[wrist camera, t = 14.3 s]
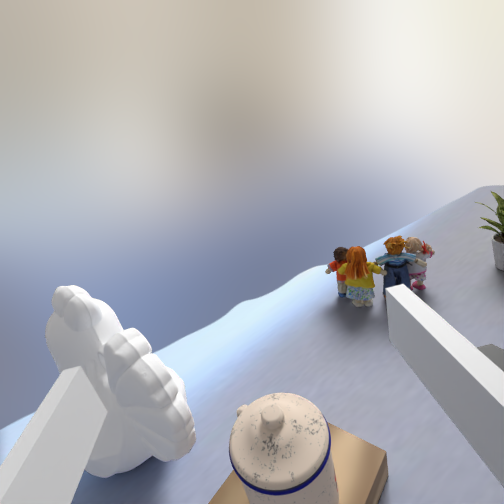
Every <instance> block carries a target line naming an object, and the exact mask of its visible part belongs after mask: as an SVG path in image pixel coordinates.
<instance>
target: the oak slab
mask: <svg viewBox="0 0 504 504" xmlns="http://www.w3.org/2000/svg"><path fill="white" fill-rule="evenodd" d="M327 423H328V422H327ZM328 426H329V430H330V435H331V454H332V459H333V464H334V469H335V474H336V479H337V484H338V490H339V504H378V501H379V499H380V496H381V493H382V491H383V488H384V485H385V483H386V480H387V477H388V466H387V455H386V451H384V450H382V449H380V448H378V447H376V446H374V445H372V444H370V443H368V442H366V441H364V440H362V439H360V438H358V437H356V436H354V435H352V434H350V433H348V432H346V431H344V430H342V429H340V428H338V427H336V426H334V425H332V424H330V423H328ZM208 504H250V503H249V500H248V497H247V495H246V492H245V490H244V487H243V484H242V482H241V480H240V478H239V477H238V476H237V474H236V473H235V471H234V470H233V471H232V473H231V474H230V475H229V477H228V478H227V479H226V481H225V482H224V483H223V485H222V486H221V487H220V489H219V490H218V491H217V493H216V494H215V495H214V497H213V498H212V499H211V501H210V502H209V503H208Z"/></svg>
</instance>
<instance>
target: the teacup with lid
mask: <svg viewBox="0 0 504 504" xmlns="http://www.w3.org/2000/svg"><path fill="white" fill-rule="evenodd" d="M237 417H238V418H237V420H236V422H235V424H234V426H233V428H232V431H231V435H230V442H229V455H230V460H231V464H232V467H233V469H234V471H235V473H236V474H237V476H238V477H239V478H240V480H241V482H242V484H243V487H244V490H245V492H246V495H247V497H248V500H249V503H250V504H339V490H338V484H337V479H336V474H335V469H334V464H333V459H332V454H331V435H330V430H329V426H328V423H327V421H326V419H325V417H324V416H323V414H322V413H321V412H320V411H319V409H318V408H317V407H316V406H315V405H314V404H313V403H311V402H310V401H309V400H307V399H305V398H303V397H301V396H298V395H295V394H291V393H274V394H270V395H266V396H263V397H261V398H259V399H257V400H255V401H254V402H252V403H251V404H250V405H242V406H241V407H239V408H238V410H237Z"/></svg>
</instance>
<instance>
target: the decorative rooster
mask: <svg viewBox="0 0 504 504" xmlns="http://www.w3.org/2000/svg"><path fill="white" fill-rule="evenodd" d="M52 306H53V308H54V310H55V311H54V312H53V314H52V315H51V316H50V318H49V320H48V322H47V325H46V331H45V333H46V334H45V338H46V339H47V340H46V343H47V346H48V348H49V350H50V353H51V355H52V356H53V359H54V361H55V363H56V365H57V367H58V370H59V372H60V374H61V373H62V371H63V370H66V369H70V368H74V367H78V366H81V367H82V369H83V371H84V372H85V374H86V376H87V377H88V379H89V381H90V383H91V384H92V386H93V388H94V389H95V391H96V393H97V394H98V396H99V398H100V400H101V401H102V403H103V405H104V406H105V408H106V410H107V411H108V412H107V414H106V417H105V419H104V422H103V424H102V427H101V429H100V432H99V434H98V437H97V439H96V442H95V444H94V447H93V449H92V452H91V454H90V457H89V459H88V462H87V464H86V467H85V469H84V470H85V471H87V472H88V473H90V474H92V475H94V476H98V477H101V478H108V477H110V476H112V475H114V474H116V473H123V472H127V471H130V470H132V469H134V468H135V467H137V466H138V465H140V464H141V463H143V462H144V461H146V460H147V459H148V458H150V457H151V456H152V455H153V456H154V457H156V458H157V459H159V460H161V461H164V462H168V461H171V460H178V459H180V458H181V457H183V456H184V455H185V454H187V453H189V451H190V450H191V448H192V447H193V445H194V443H195V441H196V434H195V429H194V420H193V417H192V413H191V411H190V409H189V407H188V405H187V398H186V391H185V385H184V382H183V380H182V379H181V378H180V377H179V376H178V375H177V374H176V373H175V372H174V371H173V370H172V369H171V368H168V367H166V366H165V365H164V364H163V363H162V362H161V360H160V359H159V358H158V357H157V356H156V355H155V354H151V353H152V348H151V346H150V344H149V342H148V341H147V340H146V338H145V337H144V336H143V335H142V334H141V333H140V332H139V331H138V330H137V329H135V328H129V329H127V330H123V328H122V326H121V324H120V322H119V320H118V318H117V316H116V314H115V313H114V311H113V310H112V309H111V308H110V307H109V306H108V305H107V304H106V303H104V302H103V301H100V300H98V299H94V298H92V297H90V295H89V294H88V293H87V292H86V291H85V290H84V289H82V288H80V287H78V286H75V285H70V286H60V287H58V288H56V290H55V292H54V295H53V297H52Z"/></svg>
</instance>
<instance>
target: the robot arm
mask: <svg viewBox="0 0 504 504" xmlns="http://www.w3.org/2000/svg"><path fill="white" fill-rule="evenodd" d="M385 290H386V303H387V315H388V328H389V340H390V342H391V343H392V344H393V346H394V347H395V348H396V349H397V351H398V352H399V353H400V355H401V356H402V357H403V358H404V360H405V361H406V362H407V364H408V365H409V366H410V368H411V369H412V370H413V371H414V373H415V374H416V375H417V377H418V378H419V379H420V380H421V382H422V383H423V384H424V386H425V387H426V388H427V389H428V391H429V392H430V393H431V395H432V396H433V397H434V398H435V400H436V401H437V402H438V404H439V405H440V406H441V407H442V409H443V410H444V411H445V413H446V414H447V415H448V416H449V418H450V419H451V420H452V422H453V423H454V424H455V425H456V427H457V428H458V429H459V431H460V432H461V433H462V435H463V436H464V437H465V438H466V440H467V441H468V442H469V444H470V445H471V446H472V447H473V449H474V450H475V451H476V453H477V454H478V455H479V456H480V458H481V459H482V460H483V462H484V463H485V464H486V465H487V467H488V468H489V469H490V471H491V472H492V473H493V474H494V476H495V477H496V478H497V480H498V481H499V482H500V483H501V485H502V486H503V487H504V349H501V348H499V347H497V346H495V345H493V344H489V345H485V346H481V347H477V348H476V347H475V346H474V345H472V344H471V343H470V342H469V341H468V340H467V339H466V338H465V337H463V336H462V335H461V334H460V333H459V332H458V331H457V330H455V329H454V328H453V327H452V326H451V325H450V324H449V323H447V322H446V321H445V320H444V319H443V318H442V317H441V316H439V315H438V314H437V313H436V312H435V311H434V310H433V309H431V308H430V307H429V306H428V305H427V304H426V303H425V302H423V301H422V300H421V299H420V298H419V297H418V296H417V295H415V294H414V293H413V292H412V291H411V290H410V289H409V288H407V287H406V286H405V285H404V284H401V285H397V286H393V287H389V288H385ZM107 412H108V411H107V410H106V408H105V406H104V405H103V403H102V401H101V400H100V398H99V396H98V394H97V393H96V391H95V389H94V388H93V386H92V384H91V383H90V381H89V379H88V377H87V376H86V374H85V372H84V371H83V369H82V367H81V366H78V367H74V368H70V369H66V370H63V371H62V373H61V374H60V376H59V377H58V379H57V380H56V382H55V383H54V385H53V386H52V388H51V390H50V391H49V393H48V394H47V396H46V397H45V399H44V400H43V402H42V404H41V405H40V406H39V408H38V409H37V411H36V413H35V414H34V416H33V417H32V419H31V420H30V422H29V423H28V425H27V426H26V428H25V429H24V431H23V433H22V434H21V436H20V437H19V439H18V440H17V442H16V443H15V445H14V446H13V448H12V449H11V451H10V452H9V454H8V456H7V457H6V459H5V460H4V462H3V463H2V465H1V466H0V504H71V502H72V499H73V497H74V494H75V492H76V489H77V487H78V484H79V482H80V479H81V477H82V474H83V472H84V469H85V467H86V464H87V462H88V459H89V457H90V454H91V452H92V449H93V447H94V444H95V442H96V439H97V437H98V434H99V432H100V429H101V427H102V424H103V422H104V419H105V417H106V414H107Z"/></svg>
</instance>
